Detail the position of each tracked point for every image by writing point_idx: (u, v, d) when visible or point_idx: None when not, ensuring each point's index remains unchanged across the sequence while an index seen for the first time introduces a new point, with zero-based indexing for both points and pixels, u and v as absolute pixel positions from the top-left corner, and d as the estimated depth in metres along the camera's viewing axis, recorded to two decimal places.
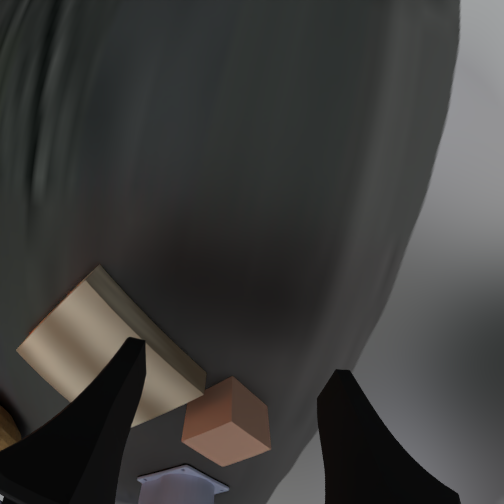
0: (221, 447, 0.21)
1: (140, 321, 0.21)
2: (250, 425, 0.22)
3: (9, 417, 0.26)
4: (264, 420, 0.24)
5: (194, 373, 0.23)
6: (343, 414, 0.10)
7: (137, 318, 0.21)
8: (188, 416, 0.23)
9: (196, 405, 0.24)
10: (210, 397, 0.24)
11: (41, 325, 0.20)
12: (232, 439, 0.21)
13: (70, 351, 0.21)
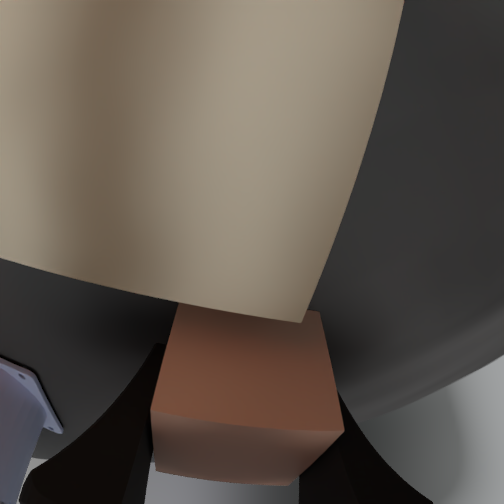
0: (221, 458, 0.08)
1: None
2: None
3: None
4: None
5: None
6: None
7: None
8: (182, 340, 0.09)
9: (212, 324, 0.10)
10: (259, 328, 0.10)
11: None
12: (272, 456, 0.08)
13: None
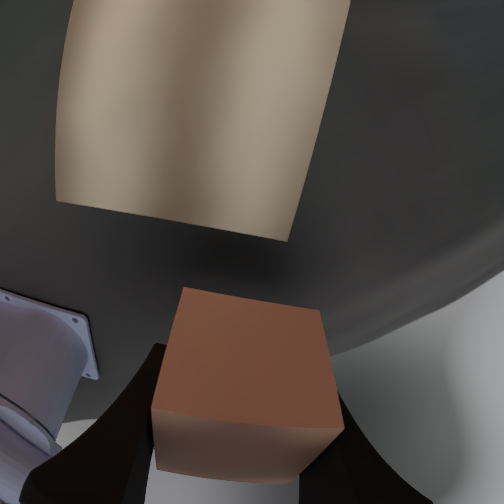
0: (221, 456, 0.08)
1: None
2: None
3: None
4: None
5: None
6: None
7: None
8: (182, 338, 0.09)
9: (212, 323, 0.10)
10: (260, 327, 0.10)
11: None
12: (273, 454, 0.08)
13: (187, 25, 0.10)
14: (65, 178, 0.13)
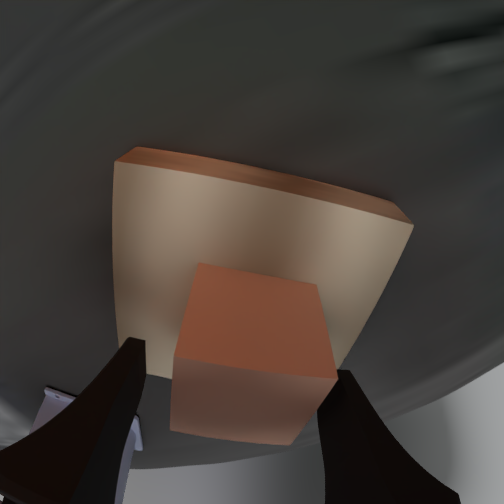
0: (230, 409, 0.10)
1: None
2: None
3: None
4: None
5: None
6: (342, 414, 0.10)
7: None
8: (199, 302, 0.11)
9: (224, 291, 0.12)
10: (265, 295, 0.12)
11: (257, 189, 0.11)
12: (276, 407, 0.10)
13: (250, 261, 0.13)
14: None
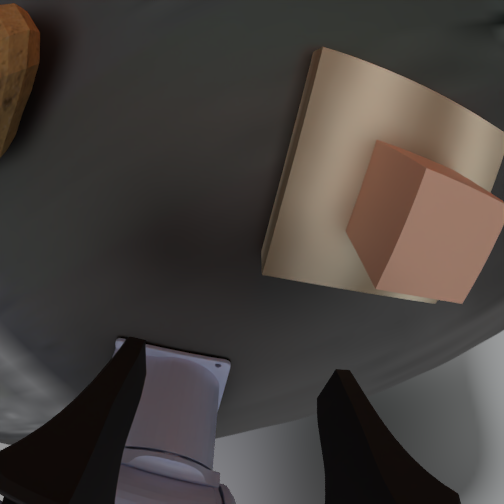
0: (443, 242, 0.11)
1: None
2: None
3: None
4: None
5: None
6: (343, 414, 0.10)
7: None
8: (405, 153, 0.11)
9: (411, 154, 0.12)
10: (435, 164, 0.13)
11: (426, 89, 0.12)
12: (473, 239, 0.11)
13: (416, 146, 0.14)
14: (279, 256, 0.17)
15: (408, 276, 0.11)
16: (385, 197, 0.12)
